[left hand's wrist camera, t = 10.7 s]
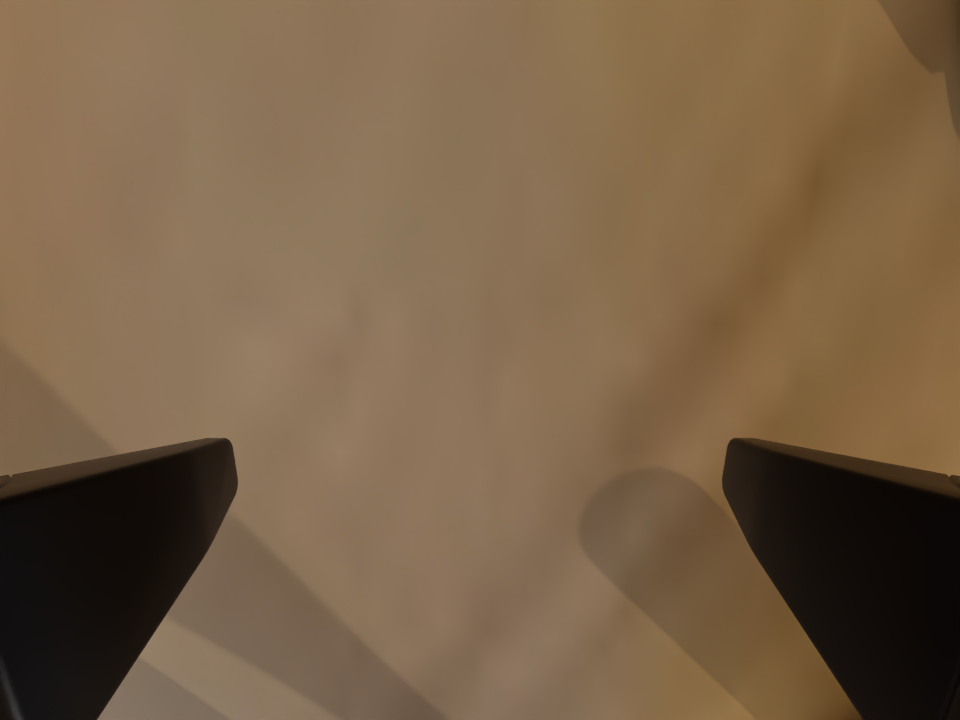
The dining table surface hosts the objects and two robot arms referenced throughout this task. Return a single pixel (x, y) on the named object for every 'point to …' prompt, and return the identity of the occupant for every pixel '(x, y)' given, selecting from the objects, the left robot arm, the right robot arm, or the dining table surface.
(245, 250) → the dining table surface
